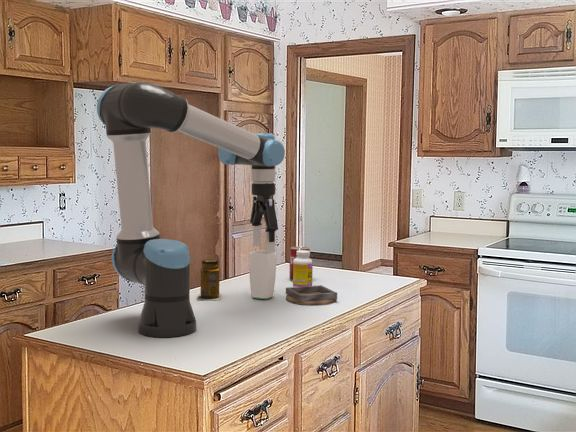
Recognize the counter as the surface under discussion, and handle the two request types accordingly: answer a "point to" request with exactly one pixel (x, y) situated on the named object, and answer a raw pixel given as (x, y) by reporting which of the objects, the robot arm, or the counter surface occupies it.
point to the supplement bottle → (302, 269)
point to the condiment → (209, 280)
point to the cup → (262, 273)
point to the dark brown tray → (310, 295)
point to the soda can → (293, 256)
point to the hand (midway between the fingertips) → (263, 249)
